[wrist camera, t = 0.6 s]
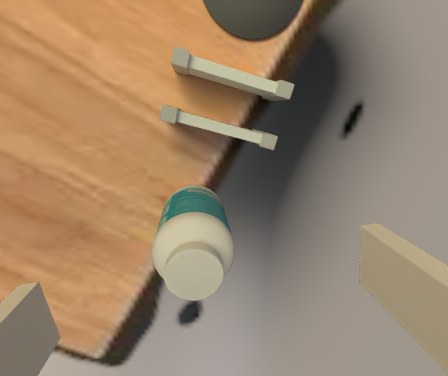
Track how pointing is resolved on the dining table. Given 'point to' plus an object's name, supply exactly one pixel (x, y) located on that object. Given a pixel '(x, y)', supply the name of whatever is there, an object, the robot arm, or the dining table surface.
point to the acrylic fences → (228, 77)
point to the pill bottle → (193, 243)
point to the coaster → (252, 16)
